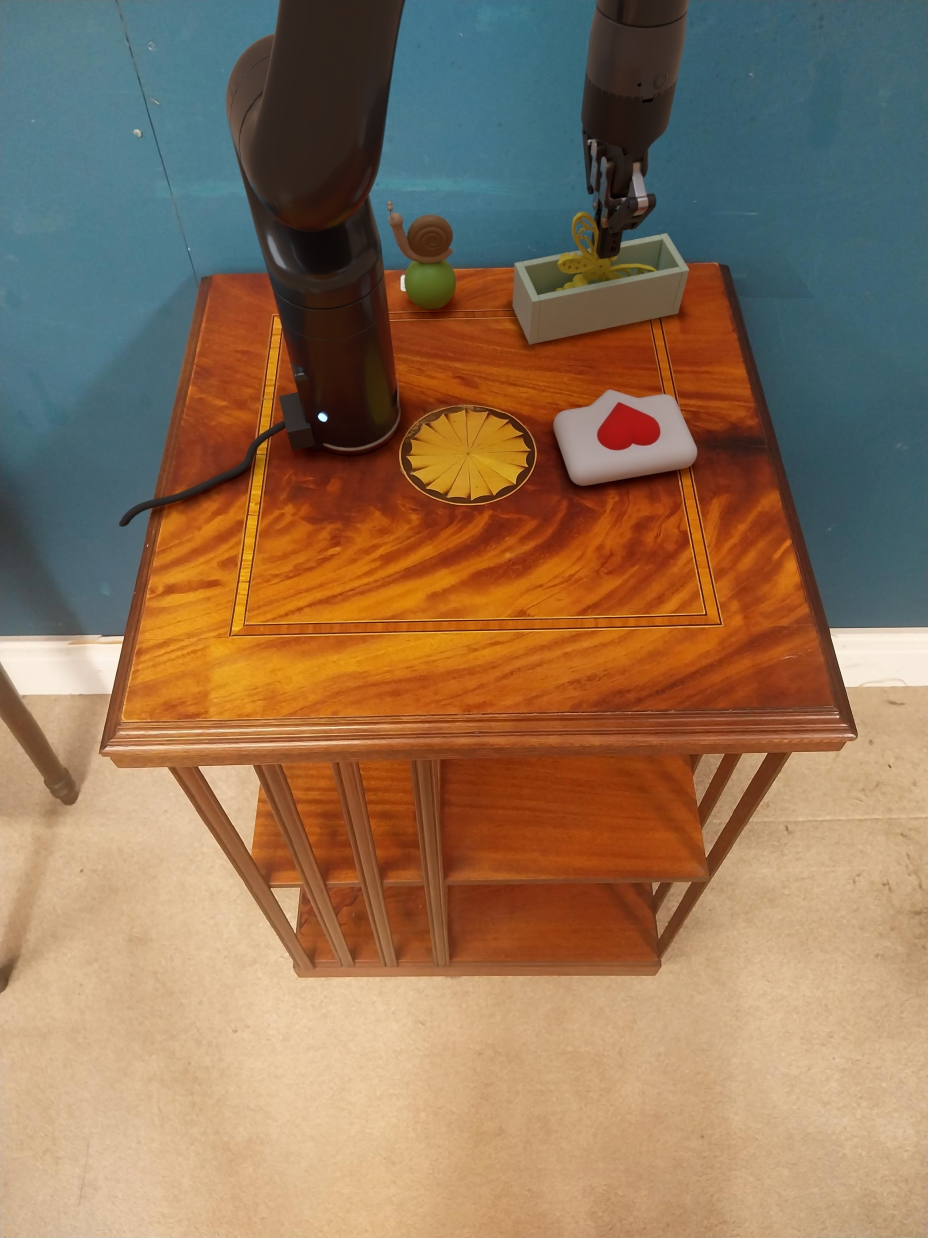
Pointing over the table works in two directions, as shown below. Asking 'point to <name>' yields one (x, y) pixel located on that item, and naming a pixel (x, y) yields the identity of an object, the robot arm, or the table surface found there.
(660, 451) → the icon
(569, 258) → the decorative insect
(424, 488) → the table surface
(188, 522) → the table surface
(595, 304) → the slot tray
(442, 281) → the snail figurine
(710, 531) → the table surface
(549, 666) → the table surface
